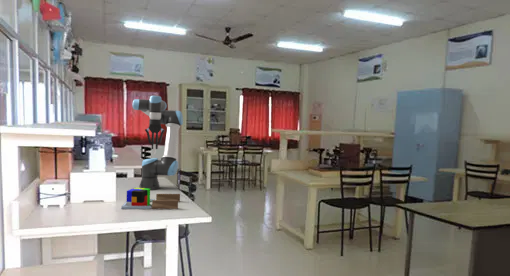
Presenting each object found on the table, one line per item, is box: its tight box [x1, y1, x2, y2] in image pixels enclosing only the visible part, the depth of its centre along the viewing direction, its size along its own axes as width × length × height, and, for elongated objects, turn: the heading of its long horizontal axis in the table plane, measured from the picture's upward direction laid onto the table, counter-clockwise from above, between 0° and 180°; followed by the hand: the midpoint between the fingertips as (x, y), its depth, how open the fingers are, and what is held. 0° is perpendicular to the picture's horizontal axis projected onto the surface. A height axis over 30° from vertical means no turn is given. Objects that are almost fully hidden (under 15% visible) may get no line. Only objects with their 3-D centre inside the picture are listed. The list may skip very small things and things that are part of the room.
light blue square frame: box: [121, 198, 156, 210], centre depth 202 cm, size 18×17×2 cm
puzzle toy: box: [126, 187, 151, 206], centre depth 200 cm, size 10×10×10 cm
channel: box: [151, 193, 181, 210], centre depth 204 cm, size 18×15×5 cm
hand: (154, 154), depth 218 cm, fingers closed
